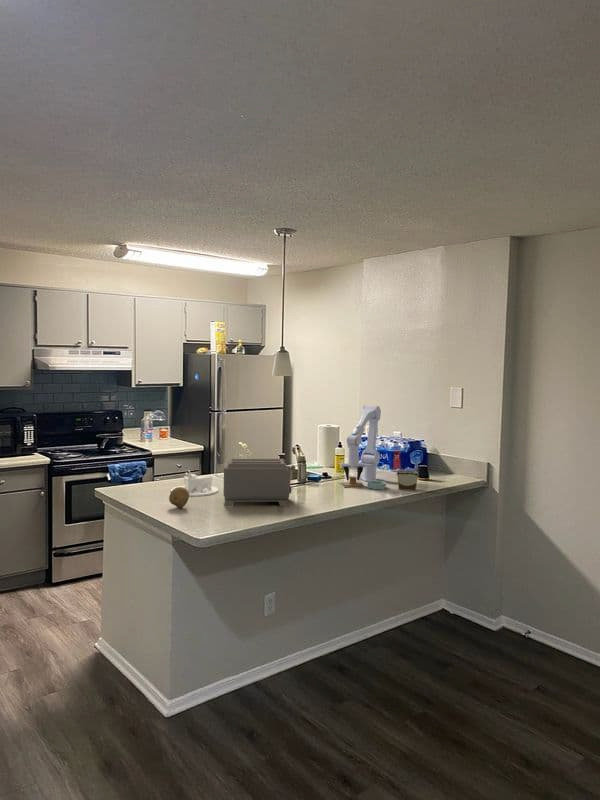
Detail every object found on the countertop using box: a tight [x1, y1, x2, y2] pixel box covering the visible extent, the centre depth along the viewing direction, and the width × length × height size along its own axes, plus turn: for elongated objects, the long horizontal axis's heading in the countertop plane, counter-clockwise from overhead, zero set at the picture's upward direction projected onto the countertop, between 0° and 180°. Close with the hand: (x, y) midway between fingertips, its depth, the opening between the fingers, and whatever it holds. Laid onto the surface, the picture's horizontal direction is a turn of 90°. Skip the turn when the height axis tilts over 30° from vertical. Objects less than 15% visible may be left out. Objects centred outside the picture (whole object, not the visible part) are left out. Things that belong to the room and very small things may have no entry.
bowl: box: [367, 480, 387, 490], centre depth 347 cm, size 10×10×3 cm
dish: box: [170, 469, 219, 497], centre depth 329 cm, size 25×25×11 cm
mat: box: [339, 482, 367, 488], centre depth 352 cm, size 12×12×1 cm
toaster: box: [223, 458, 296, 507], centre depth 307 cm, size 19×35×20 cm, turn 95°
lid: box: [342, 476, 364, 487], centre depth 352 cm, size 11×11×4 cm
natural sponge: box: [168, 486, 190, 509], centre depth 292 cm, size 9×9×10 cm
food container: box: [396, 469, 420, 491], centre depth 346 cm, size 12×6×10 cm, turn 84°
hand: (352, 480), depth 352 cm, fingers open, 5 cm apart
